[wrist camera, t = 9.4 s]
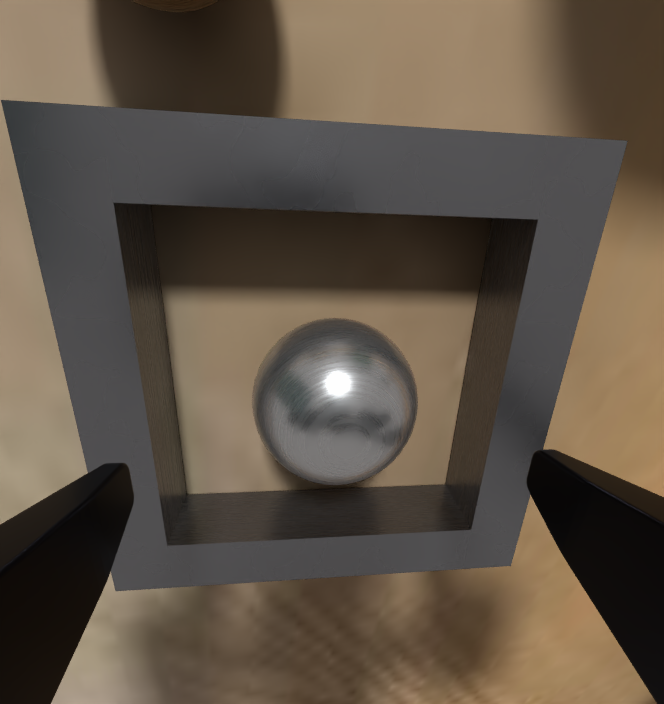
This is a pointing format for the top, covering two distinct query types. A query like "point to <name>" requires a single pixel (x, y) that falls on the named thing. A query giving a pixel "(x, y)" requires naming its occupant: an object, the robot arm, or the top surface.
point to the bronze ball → (176, 4)
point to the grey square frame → (315, 196)
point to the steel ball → (335, 401)
